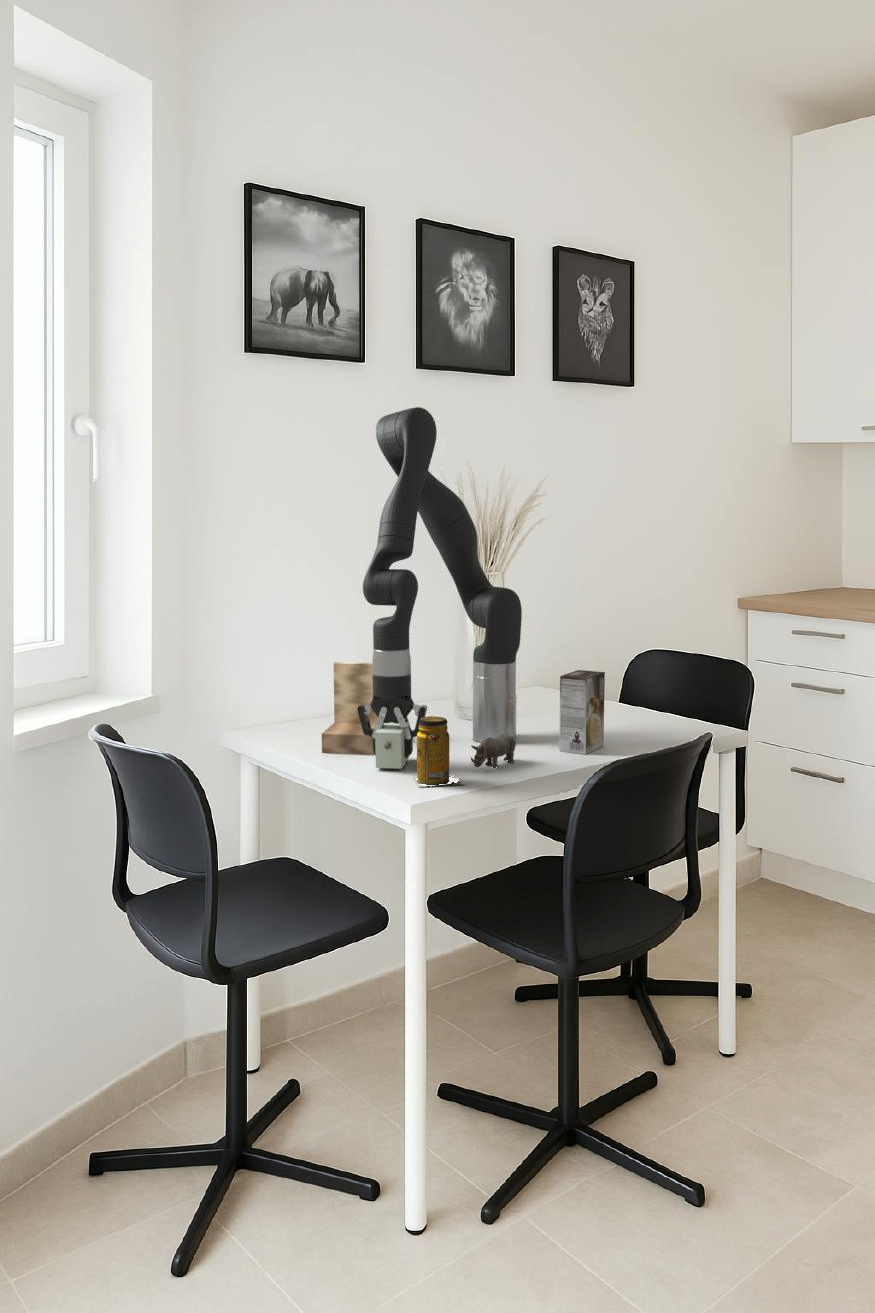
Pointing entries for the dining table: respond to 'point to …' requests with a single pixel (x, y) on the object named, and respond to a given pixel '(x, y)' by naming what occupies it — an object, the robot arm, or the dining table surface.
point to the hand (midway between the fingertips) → (392, 756)
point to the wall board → (352, 691)
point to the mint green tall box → (390, 746)
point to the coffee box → (581, 711)
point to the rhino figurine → (494, 750)
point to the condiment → (433, 752)
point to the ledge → (347, 739)
